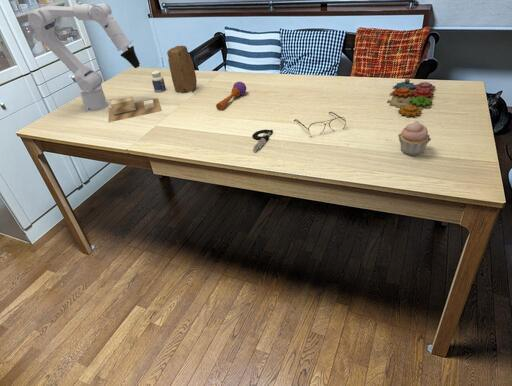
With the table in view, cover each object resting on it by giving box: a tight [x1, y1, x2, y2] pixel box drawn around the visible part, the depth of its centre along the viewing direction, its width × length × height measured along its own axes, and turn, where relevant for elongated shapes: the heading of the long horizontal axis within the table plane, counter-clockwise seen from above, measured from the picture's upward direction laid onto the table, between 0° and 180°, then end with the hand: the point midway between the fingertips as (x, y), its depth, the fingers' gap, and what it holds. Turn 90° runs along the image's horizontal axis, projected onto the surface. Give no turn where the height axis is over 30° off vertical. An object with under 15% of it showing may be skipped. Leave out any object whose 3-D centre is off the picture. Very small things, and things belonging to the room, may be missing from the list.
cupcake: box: [397, 120, 432, 156], centre depth 112 cm, size 9×9×10 cm
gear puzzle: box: [386, 78, 436, 117], centre depth 142 cm, size 31×16×4 cm, turn 156°
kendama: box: [215, 81, 247, 111], centre depth 159 cm, size 6×6×20 cm
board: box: [108, 97, 162, 123], centre depth 161 cm, size 22×16×1 cm
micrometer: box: [251, 129, 274, 153], centre depth 129 cm, size 15×7×2 cm, turn 154°
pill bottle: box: [151, 70, 167, 93], centre depth 174 cm, size 5×5×10 cm
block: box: [166, 45, 198, 94], centre depth 169 cm, size 11×8×20 cm
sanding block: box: [110, 96, 136, 116], centre depth 158 cm, size 9×4×5 cm, turn 108°
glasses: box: [293, 111, 347, 135], centre depth 134 cm, size 14×15×5 cm
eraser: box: [143, 98, 155, 109], centre depth 161 cm, size 4×4×2 cm
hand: (137, 66), depth 153 cm, fingers open, 7 cm apart
